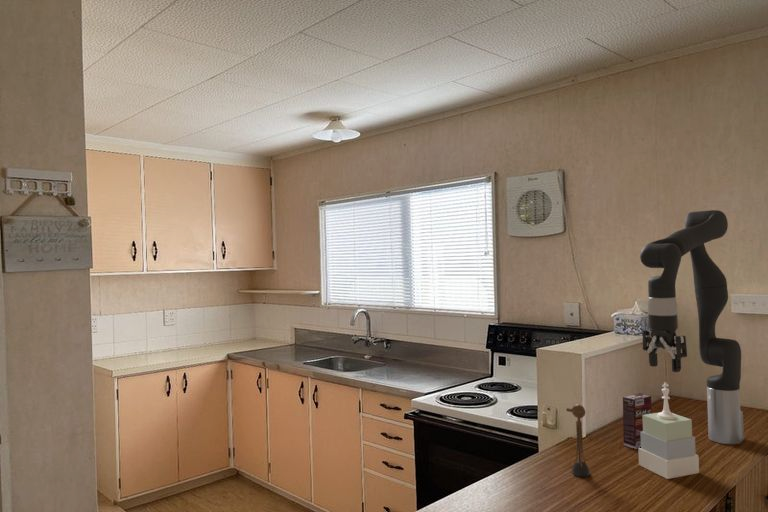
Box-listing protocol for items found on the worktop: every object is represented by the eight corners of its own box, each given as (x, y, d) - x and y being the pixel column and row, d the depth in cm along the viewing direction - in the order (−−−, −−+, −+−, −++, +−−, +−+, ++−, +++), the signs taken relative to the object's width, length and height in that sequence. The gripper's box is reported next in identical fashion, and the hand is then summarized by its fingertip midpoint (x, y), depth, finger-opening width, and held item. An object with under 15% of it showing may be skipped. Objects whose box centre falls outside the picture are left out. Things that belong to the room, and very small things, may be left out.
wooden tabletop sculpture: (565, 472, 164) (563, 404, 164) (573, 468, 167) (571, 400, 167) (584, 478, 160) (582, 407, 160) (592, 473, 163) (590, 404, 163)
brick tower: (669, 459, 171) (667, 409, 171) (699, 472, 160) (697, 420, 160) (638, 464, 168) (637, 414, 168) (667, 478, 157) (665, 425, 157)
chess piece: (653, 415, 166) (652, 381, 166) (669, 414, 166) (668, 380, 166) (663, 420, 161) (661, 385, 161) (679, 419, 162) (678, 384, 161)
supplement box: (636, 449, 180) (634, 400, 180) (623, 445, 184) (621, 396, 184) (653, 444, 184) (652, 395, 184) (640, 440, 188) (638, 392, 188)
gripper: (693, 314, 158) (695, 372, 158) (654, 309, 171) (656, 363, 171) (671, 316, 155) (673, 375, 156) (634, 311, 169) (636, 365, 169)
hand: (664, 368), depth 164 cm, fingers open, 8 cm apart
